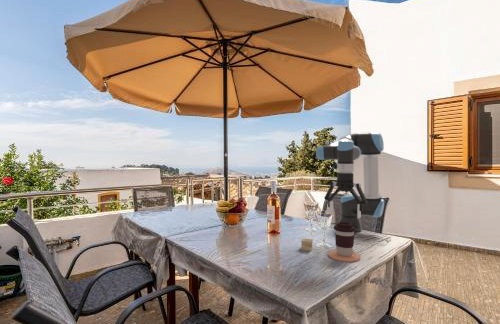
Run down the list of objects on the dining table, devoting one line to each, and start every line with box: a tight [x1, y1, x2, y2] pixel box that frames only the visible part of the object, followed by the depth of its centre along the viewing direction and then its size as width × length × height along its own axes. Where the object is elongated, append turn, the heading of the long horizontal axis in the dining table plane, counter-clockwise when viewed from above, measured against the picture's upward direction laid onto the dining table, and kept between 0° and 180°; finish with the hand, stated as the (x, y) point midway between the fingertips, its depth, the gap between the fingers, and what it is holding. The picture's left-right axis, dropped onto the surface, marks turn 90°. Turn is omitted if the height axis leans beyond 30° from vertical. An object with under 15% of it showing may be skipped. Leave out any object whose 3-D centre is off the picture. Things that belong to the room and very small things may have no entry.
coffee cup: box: [333, 221, 356, 256], centre depth 135 cm, size 10×10×15 cm
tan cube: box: [300, 237, 313, 252], centre depth 145 cm, size 5×5×5 cm
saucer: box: [327, 248, 362, 263], centre depth 135 cm, size 15×15×1 cm
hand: (344, 215), depth 135 cm, fingers open, 13 cm apart
